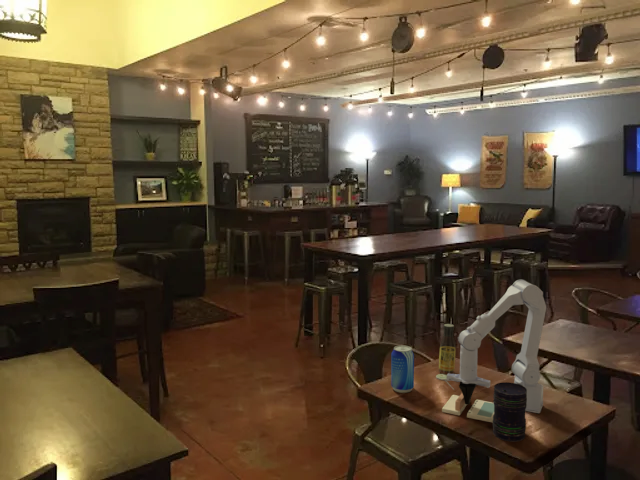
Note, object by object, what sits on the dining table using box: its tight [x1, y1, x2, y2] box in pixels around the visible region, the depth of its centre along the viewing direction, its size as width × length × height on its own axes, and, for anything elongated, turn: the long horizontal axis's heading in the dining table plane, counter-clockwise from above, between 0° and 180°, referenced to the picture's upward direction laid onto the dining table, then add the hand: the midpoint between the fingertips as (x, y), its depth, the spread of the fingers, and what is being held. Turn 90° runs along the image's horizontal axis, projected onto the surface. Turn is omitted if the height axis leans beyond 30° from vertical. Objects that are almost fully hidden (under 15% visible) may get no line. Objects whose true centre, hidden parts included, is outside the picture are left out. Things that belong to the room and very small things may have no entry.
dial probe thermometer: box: [435, 373, 455, 391], centre depth 216 cm, size 5×1×15 cm
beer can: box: [390, 345, 415, 394], centre depth 210 cm, size 8×8×16 cm
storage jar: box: [492, 381, 527, 443], centre depth 174 cm, size 10×10×15 cm
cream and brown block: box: [441, 392, 467, 416], centre depth 195 cm, size 6×13×4 cm, turn 151°
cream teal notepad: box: [466, 399, 494, 424], centre depth 190 cm, size 9×13×1 cm
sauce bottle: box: [438, 323, 457, 375], centre depth 225 cm, size 6×6×20 cm
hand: (467, 403), depth 193 cm, fingers closed
